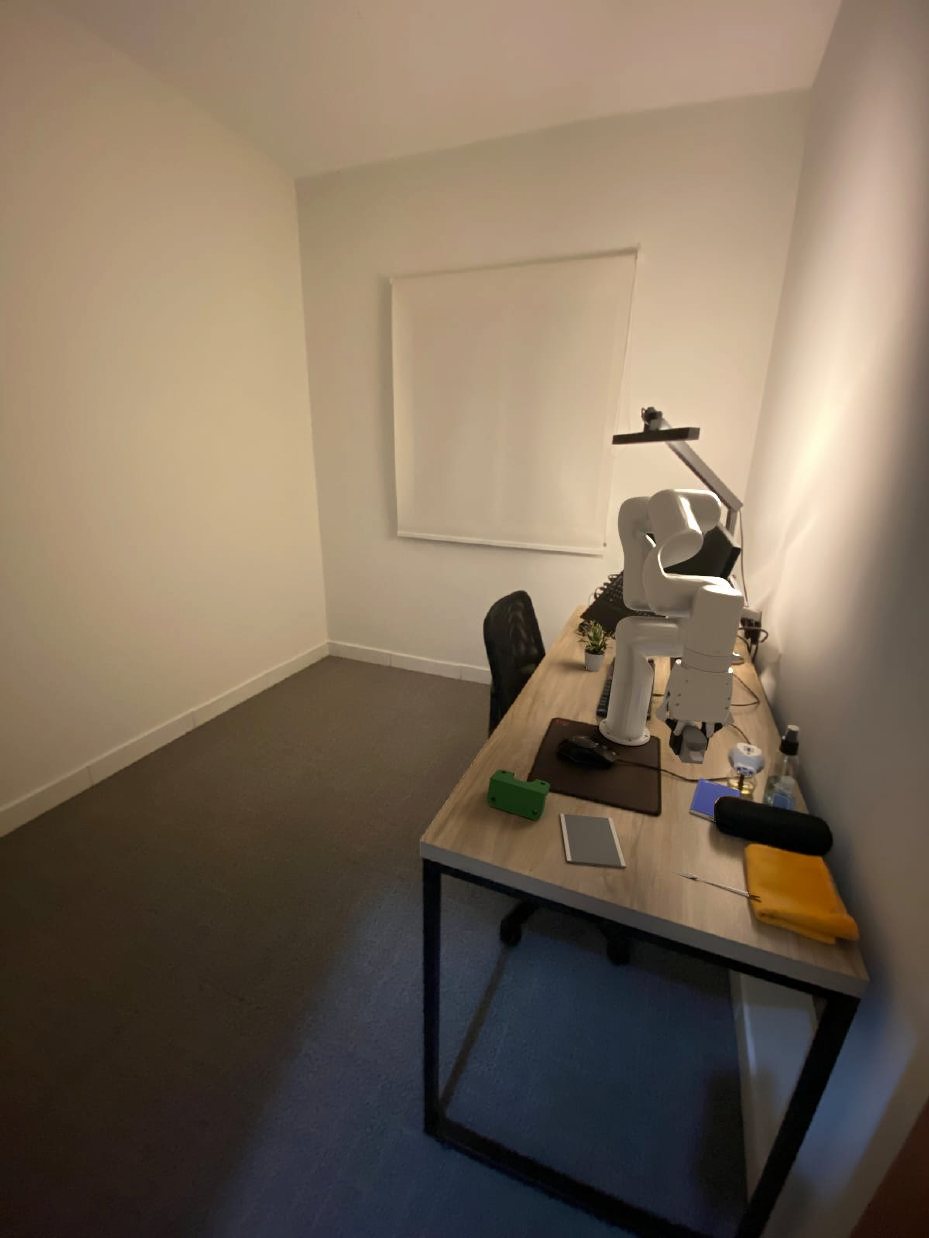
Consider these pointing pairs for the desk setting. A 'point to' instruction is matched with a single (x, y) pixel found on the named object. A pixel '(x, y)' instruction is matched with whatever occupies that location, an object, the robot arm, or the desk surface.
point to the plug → (692, 744)
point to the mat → (591, 841)
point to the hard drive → (709, 797)
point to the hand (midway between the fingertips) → (686, 751)
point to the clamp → (517, 794)
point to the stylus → (711, 883)
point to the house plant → (594, 649)
